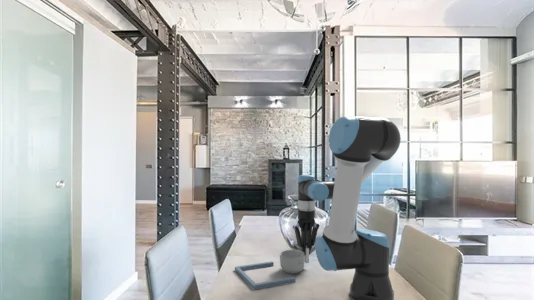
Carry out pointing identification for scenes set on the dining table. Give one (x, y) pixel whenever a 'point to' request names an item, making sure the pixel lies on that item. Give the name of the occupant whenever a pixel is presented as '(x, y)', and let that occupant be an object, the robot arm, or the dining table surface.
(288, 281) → the tray frame
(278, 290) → the dining table surface
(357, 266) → the robot arm
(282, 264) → the teacup
